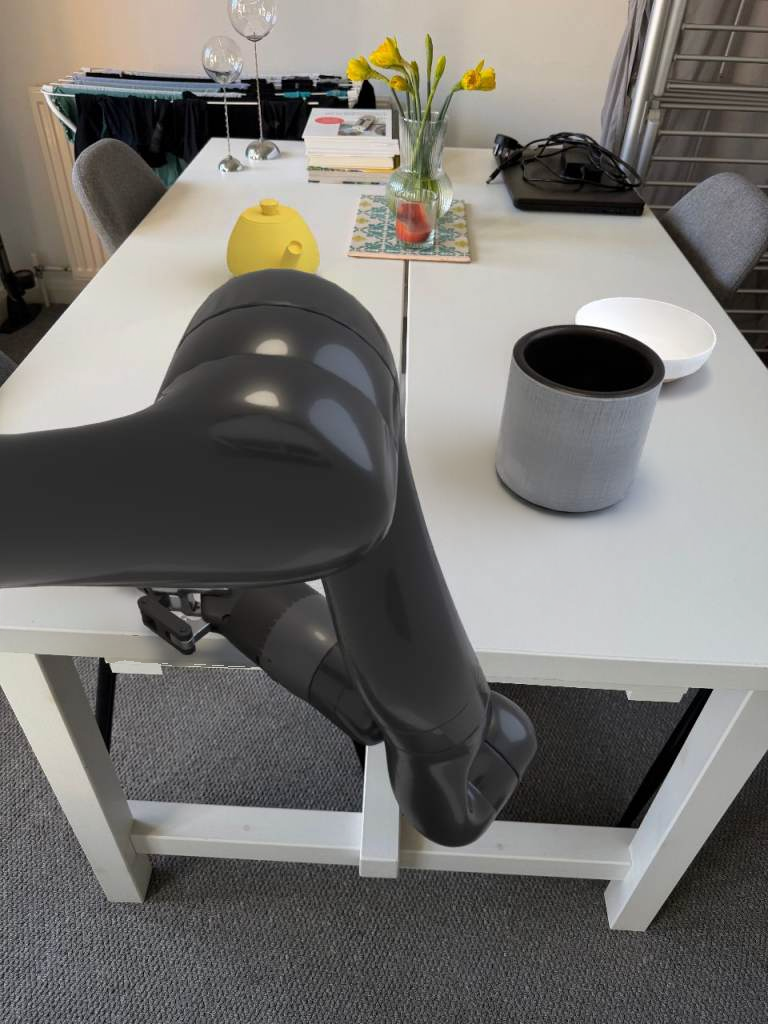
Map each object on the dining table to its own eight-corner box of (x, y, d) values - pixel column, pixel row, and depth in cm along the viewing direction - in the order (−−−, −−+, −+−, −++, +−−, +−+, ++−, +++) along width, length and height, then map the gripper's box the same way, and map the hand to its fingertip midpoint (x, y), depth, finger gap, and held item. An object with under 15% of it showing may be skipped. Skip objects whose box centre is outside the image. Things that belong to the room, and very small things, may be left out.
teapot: (344, 304, 120) (343, 219, 112) (252, 320, 115) (244, 232, 106) (302, 260, 134) (298, 181, 125) (219, 273, 129) (208, 191, 120)
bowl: (652, 327, 117) (662, 290, 113) (732, 388, 103) (747, 348, 99) (543, 343, 112) (549, 305, 108) (611, 409, 98) (622, 368, 94)
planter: (549, 421, 95) (571, 309, 85) (657, 478, 86) (697, 361, 76) (465, 470, 87) (480, 352, 77) (576, 539, 78) (609, 416, 68)
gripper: (361, 557, 60) (232, 474, 68) (223, 661, 51) (96, 552, 59) (360, 618, 65) (241, 534, 73) (235, 722, 56) (115, 614, 64)
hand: (176, 542), depth 66 cm, fingers open, 8 cm apart
